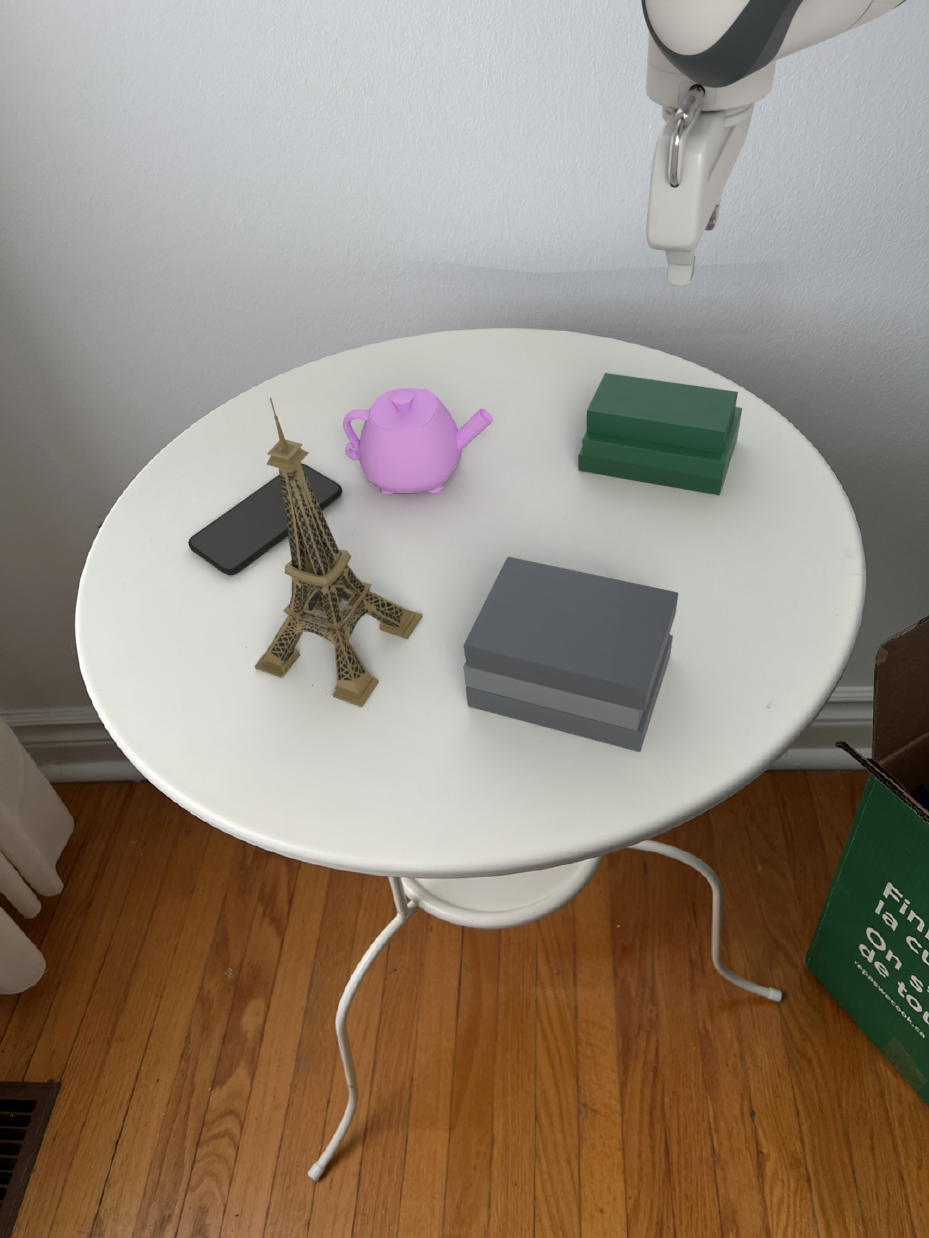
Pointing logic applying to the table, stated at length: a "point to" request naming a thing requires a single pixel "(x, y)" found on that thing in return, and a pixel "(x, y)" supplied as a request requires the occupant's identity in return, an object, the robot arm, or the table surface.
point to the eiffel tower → (323, 586)
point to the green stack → (659, 461)
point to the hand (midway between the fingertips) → (693, 253)
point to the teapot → (410, 440)
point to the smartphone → (255, 524)
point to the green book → (662, 412)
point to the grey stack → (570, 651)
